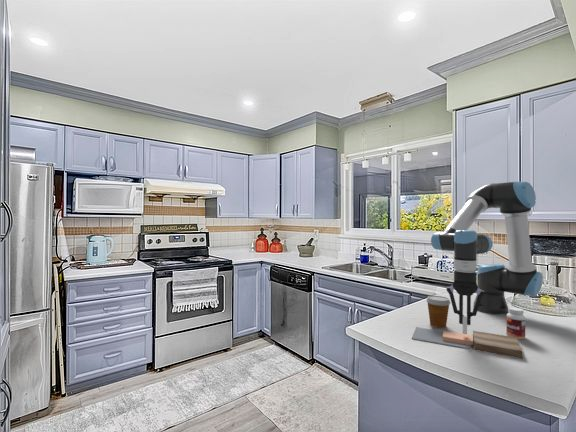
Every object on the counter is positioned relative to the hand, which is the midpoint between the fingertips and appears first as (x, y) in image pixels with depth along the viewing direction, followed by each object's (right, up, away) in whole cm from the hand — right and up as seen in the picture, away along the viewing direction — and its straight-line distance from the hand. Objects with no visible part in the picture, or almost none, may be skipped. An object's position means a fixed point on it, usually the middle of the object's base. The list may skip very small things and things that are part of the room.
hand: (464, 332), depth 122 cm
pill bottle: (+23, -4, +6) cm, 24 cm away
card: (-2, -3, +1) cm, 4 cm away
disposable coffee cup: (-2, -4, +18) cm, 18 cm away
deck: (+9, -4, -5) cm, 10 cm away
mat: (-7, -3, +4) cm, 9 cm away
